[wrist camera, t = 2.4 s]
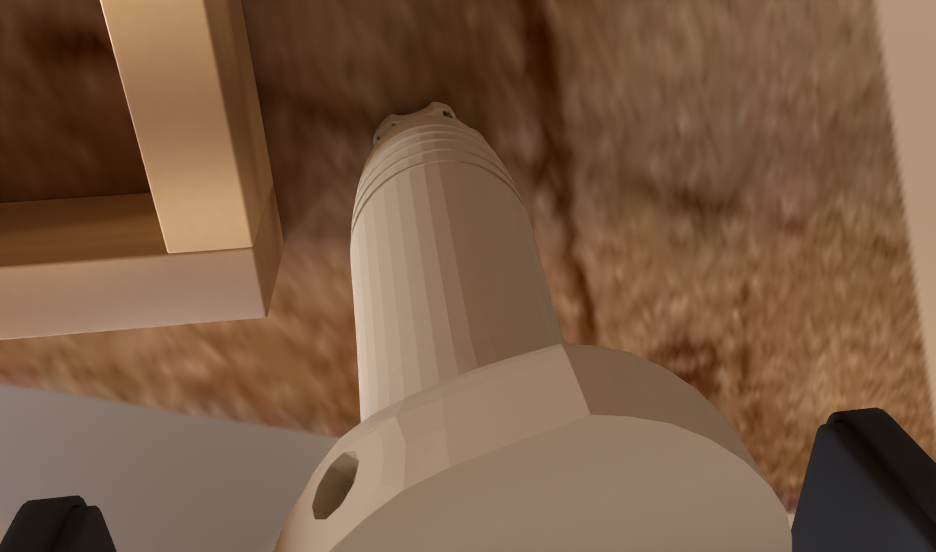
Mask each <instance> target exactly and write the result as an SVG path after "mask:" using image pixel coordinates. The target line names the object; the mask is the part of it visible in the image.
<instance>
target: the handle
mask: <svg viewBox="0 0 936 552" xmlns="http://www.w3.org/2000/svg"><path fill="white" fill-rule="evenodd" d="M373 144H374V146H373V149H372V151H371V153H370V155H369V157H368V158H367V160H366V162H365V165H364V168H363V171H362V174H361V178H360V181H359V185H358V189H357V194H356V199H355V204H354V210H353V218H352V231H351V246H350V255H351V271H352V284H353V298H354V311H355V324H356V337H357V353H358V372H359V392H360V411H361V423H360V424H359V425H357V426H356V427H355V428H353V429H352V430H351V431H349V432H348V433H347V434H345V435H344V436H343V437H341V438H340V439H339V441H338V442H337V443H336V444H335V446H334V447H333V448H332V449H331V451H330V452H329V453H328V454H327V456H326V457H325V458H324V459H323V461H322V462H321V463H320V464H319V466H318V467H317V468H316V470H315V472H314V473H313V475H312V477H311V479H310V481H309V482H308V484H307V486H306V487H305V489H304V491H303V492H302V494H301V496H300V498H299V499H298V501H297V502H296V504H295V506H294V507H293V509H292V510H291V512H290V514H289V515H288V517H287V519H286V521H285V523H284V525H283V528H282V530H281V533H280V535H279V538H278V540H277V543H276V546H275V549H274V551H273V552H792V534H791V530H790V526H789V521H788V517H787V512H786V510H785V509H784V507H783V505H782V504H781V502H780V501H779V499H778V497H777V496H776V494H775V493H774V491H773V489H772V488H771V486H770V485H769V483H768V481H767V480H766V478H765V477H764V475H763V474H762V472H761V470H760V469H759V467H758V466H757V464H756V462H755V461H754V459H753V458H752V456H751V455H750V453H749V451H748V450H747V448H746V447H745V445H744V444H743V442H742V441H741V439H740V438H739V436H738V435H737V433H736V432H735V430H734V429H733V427H732V426H731V425H730V423H729V422H728V421H727V420H726V419H725V417H724V416H723V415H722V414H721V413H720V412H719V411H718V410H717V409H716V408H715V407H714V406H713V405H712V404H711V403H710V402H709V401H708V400H707V399H706V398H705V397H704V396H703V395H702V394H701V393H700V392H699V391H698V390H696V389H695V388H694V387H692V386H691V385H689V384H688V383H686V382H685V381H683V380H682V379H680V378H679V377H677V376H676V375H674V374H673V373H671V372H670V371H668V370H667V369H665V368H664V367H662V366H660V365H657V364H655V363H652V362H650V361H648V360H645V359H643V358H641V357H638V356H636V355H634V354H631V353H629V352H624V351H619V350H614V349H608V348H603V347H598V346H589V345H574V344H565V342H564V338H563V335H562V332H561V329H560V325H559V322H558V319H557V316H556V313H555V309H554V306H553V303H552V300H551V296H550V292H549V289H548V285H547V281H546V278H545V274H544V270H543V267H542V263H541V260H540V256H539V252H538V249H537V245H536V241H535V238H534V234H533V230H532V227H531V223H530V219H529V216H528V214H527V211H526V209H525V206H524V204H523V202H522V200H521V197H520V195H519V193H518V190H517V188H516V186H515V184H514V182H513V180H512V178H511V176H510V174H509V173H508V171H507V170H506V168H505V166H504V165H503V163H502V162H501V160H500V159H499V158H498V156H497V155H496V153H495V152H494V150H493V149H492V148H491V147H490V146H489V145H488V143H487V142H486V141H485V139H484V138H483V136H482V135H481V134H480V133H479V132H478V131H477V130H475V129H472V128H469V127H468V126H467V125H466V124H463V123H461V122H460V121H459V120H458V119H457V118H456V117H455V114H454V112H453V111H452V109H451V108H450V107H449V106H448V105H446V104H443V103H439V102H431V103H430V105H429V106H427V107H426V108H424V109H422V110H420V111H418V112H415V113H412V114H408V115H395V114H391V115H389V116H387V117H386V118H385V119H384V120H383V121H382V122H381V124H380V125H379V127H378V128H377V130H376V132H375V134H374V138H373Z"/></svg>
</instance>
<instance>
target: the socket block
mask: <svg viewBox="0 0 936 552" xmlns="http://www.w3.org/2000/svg"><path fill="white" fill-rule="evenodd" d="M100 3H101V6H102V10H103V14H104V17H105V21H106V25H107V29H108V32H109V36H110V40H111V44H112V47H113V51H114V55H115V59H116V62H117V66H118V70H119V73H120V77H121V81H122V85H123V88H124V92H125V96H126V100H127V103H128V107H129V111H130V114H131V118H132V122H133V126H134V129H135V133H136V137H137V141H138V144H139V148H140V152H141V156H142V159H143V163H144V167H145V170H146V174H147V178H148V182H149V185H150V189H151V193H137V194H123V195H109V196H95V197H80V198H66V199H52V200H38V201H24V202H9V203H0V340H6V339H18V338H29V337H41V336H53V335H65V334H77V333H88V332H100V331H112V330H124V329H136V328H147V327H159V326H171V325H183V324H195V323H206V322H218V321H230V320H242V319H254V318H265V317H267V315H268V311H269V307H270V303H271V299H272V294H273V290H274V286H275V281H276V277H277V273H278V269H279V264H280V260H281V256H282V251H283V247H284V241H283V235H282V229H281V224H280V218H279V212H278V207H277V201H276V195H275V190H274V186H273V178H272V172H271V166H270V161H269V155H268V149H267V144H266V138H265V132H264V127H263V121H262V115H261V110H260V104H259V98H258V93H257V87H256V81H255V76H254V70H253V64H252V59H251V53H250V47H249V42H248V36H247V30H246V25H245V19H244V13H243V8H242V2H241V0H100Z"/></svg>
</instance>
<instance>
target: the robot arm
mask: <svg viewBox="0 0 936 552" xmlns="http://www.w3.org/2000/svg"><path fill="white" fill-rule="evenodd" d="M791 534H792V552H936V463H935V462H934V461H933V460H932V459H931V458H930V457H929V456H928V455H927V454H926V453H925V452H924V451H923V450H922V449H921V447H920V446H919V445H918V444H917V443H916V442H915V441H914V440H913V439H912V438H911V437H910V436H909V435H908V434H907V433H906V432H905V431H904V430H903V429H902V428H901V427H900V426H899V425H898V424H897V422H896V421H895V420H894V419H893V418H892V417H891V416H890V415H889V414H887V413H886V412H885V411H884V410H882V409H879V408H867V409H858V410H849V411H840V412H834V413H833V414H831V415H830V416H829V418H828V420H827V423H826V424H823V425H821V426H820V427H819V428H818V430H817V433H816V437H815V441H814V444H813V448H812V452H811V456H810V460H809V464H808V467H807V471H806V475H805V479H804V483H803V487H802V490H801V494H800V498H799V502H798V506H797V510H796V514H795V517H794V521H793V525H792V529H791ZM0 552H116V549H115V546H114V544H113V541H112V538H111V536H110V533H109V531H108V528H107V526H106V523H105V520H104V518H103V515H102V513H101V511H100V509H99V508H98V507H97V506H87V505H86V503H85V501H84V499H83V498H81V497H80V496H68V497H58V498H49V499H40V500H31V501H27V502H26V503H25V504H23V505H22V506H21V508H20V509H19V511H18V512H17V514H16V516H15V518H14V520H13V521H12V523H11V525H10V527H9V529H8V531H7V532H6V534H5V536H4V538H3V540H2V542H1V544H0Z"/></svg>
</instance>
